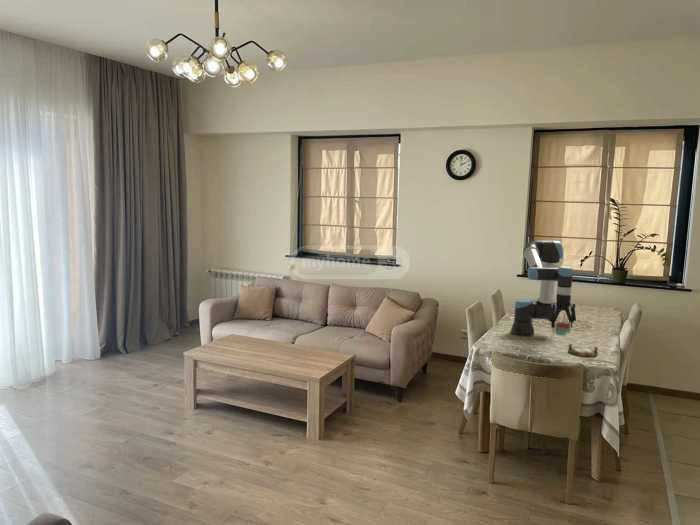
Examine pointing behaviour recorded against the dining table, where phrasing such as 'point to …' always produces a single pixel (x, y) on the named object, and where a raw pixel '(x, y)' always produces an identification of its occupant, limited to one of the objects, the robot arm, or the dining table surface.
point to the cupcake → (561, 328)
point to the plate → (582, 351)
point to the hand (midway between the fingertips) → (561, 333)
